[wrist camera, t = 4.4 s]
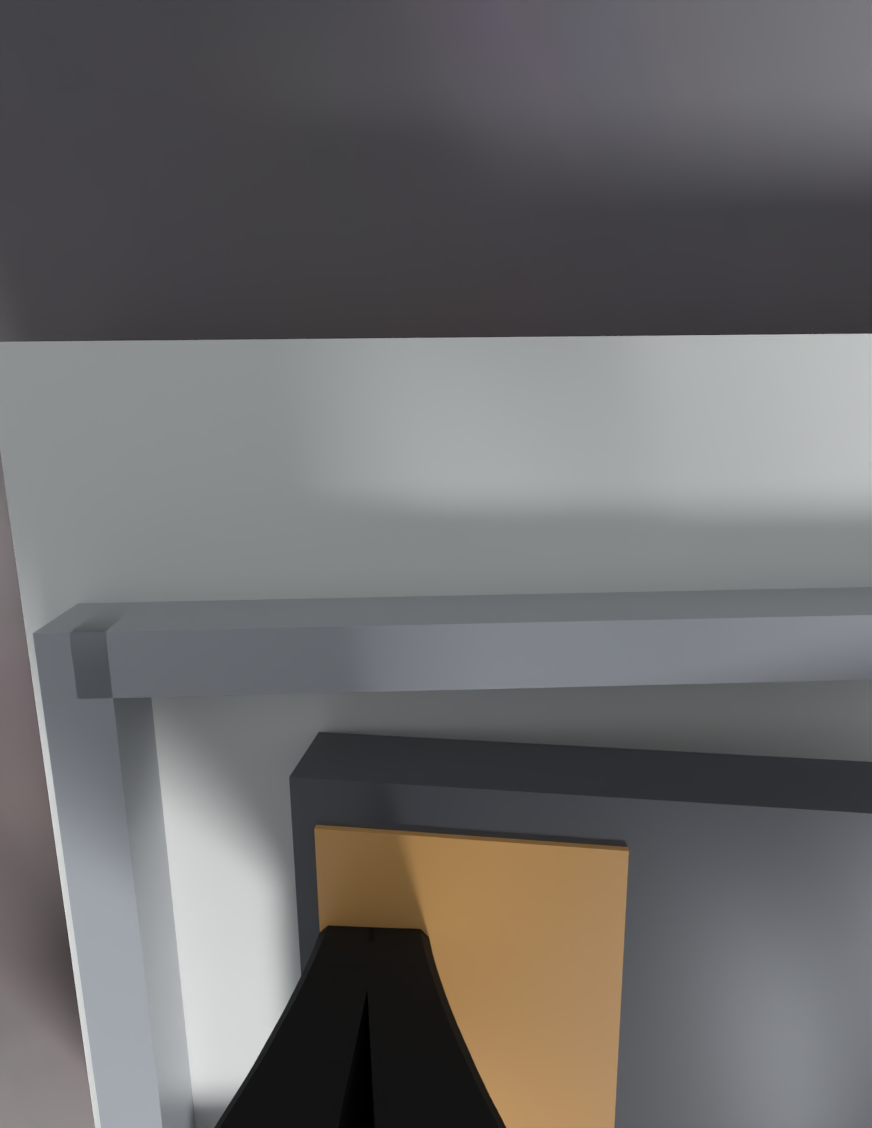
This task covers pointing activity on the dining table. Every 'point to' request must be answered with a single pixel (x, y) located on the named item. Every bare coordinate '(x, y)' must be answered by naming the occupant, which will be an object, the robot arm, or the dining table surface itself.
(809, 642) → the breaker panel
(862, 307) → the dining table surface
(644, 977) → the block
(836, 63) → the dining table surface
